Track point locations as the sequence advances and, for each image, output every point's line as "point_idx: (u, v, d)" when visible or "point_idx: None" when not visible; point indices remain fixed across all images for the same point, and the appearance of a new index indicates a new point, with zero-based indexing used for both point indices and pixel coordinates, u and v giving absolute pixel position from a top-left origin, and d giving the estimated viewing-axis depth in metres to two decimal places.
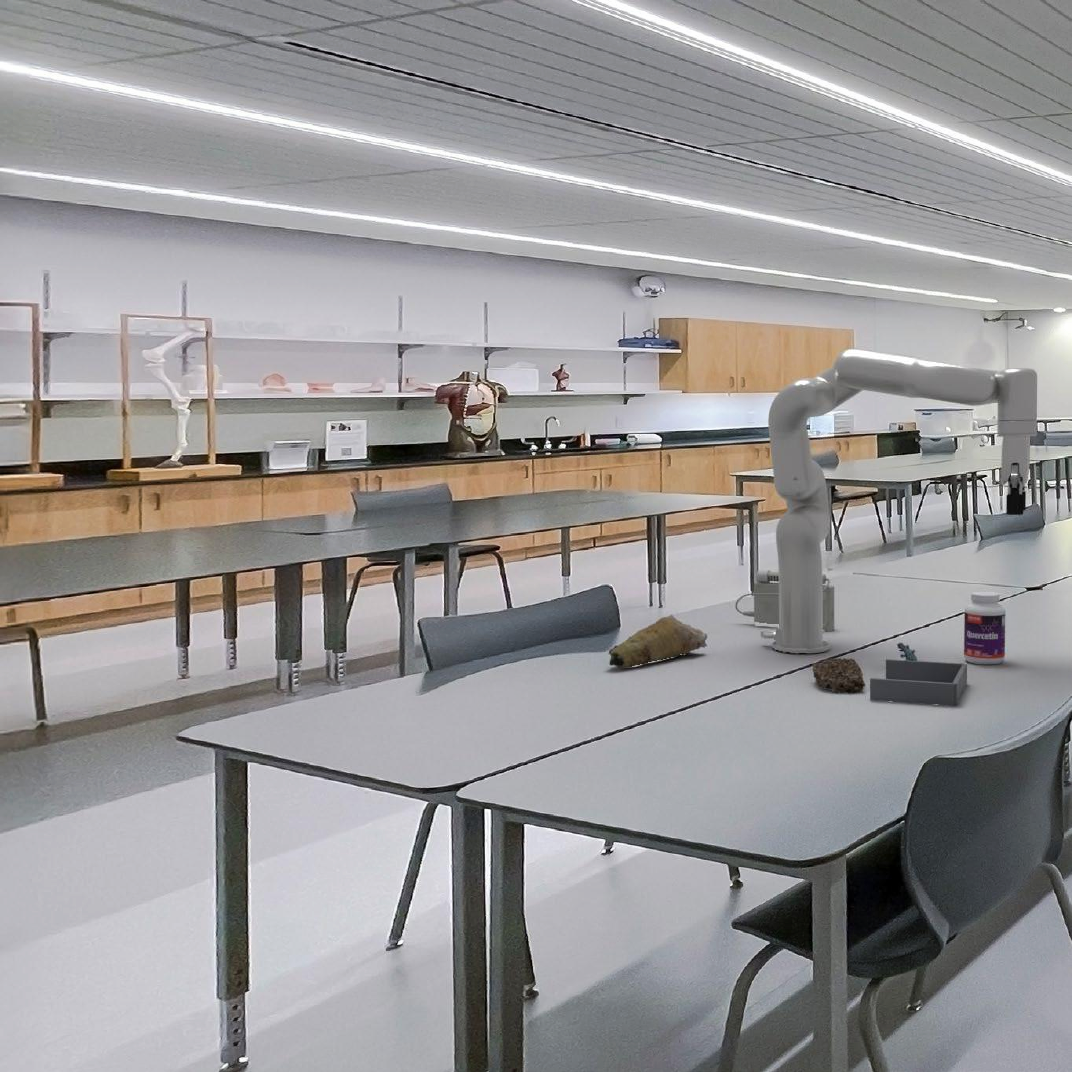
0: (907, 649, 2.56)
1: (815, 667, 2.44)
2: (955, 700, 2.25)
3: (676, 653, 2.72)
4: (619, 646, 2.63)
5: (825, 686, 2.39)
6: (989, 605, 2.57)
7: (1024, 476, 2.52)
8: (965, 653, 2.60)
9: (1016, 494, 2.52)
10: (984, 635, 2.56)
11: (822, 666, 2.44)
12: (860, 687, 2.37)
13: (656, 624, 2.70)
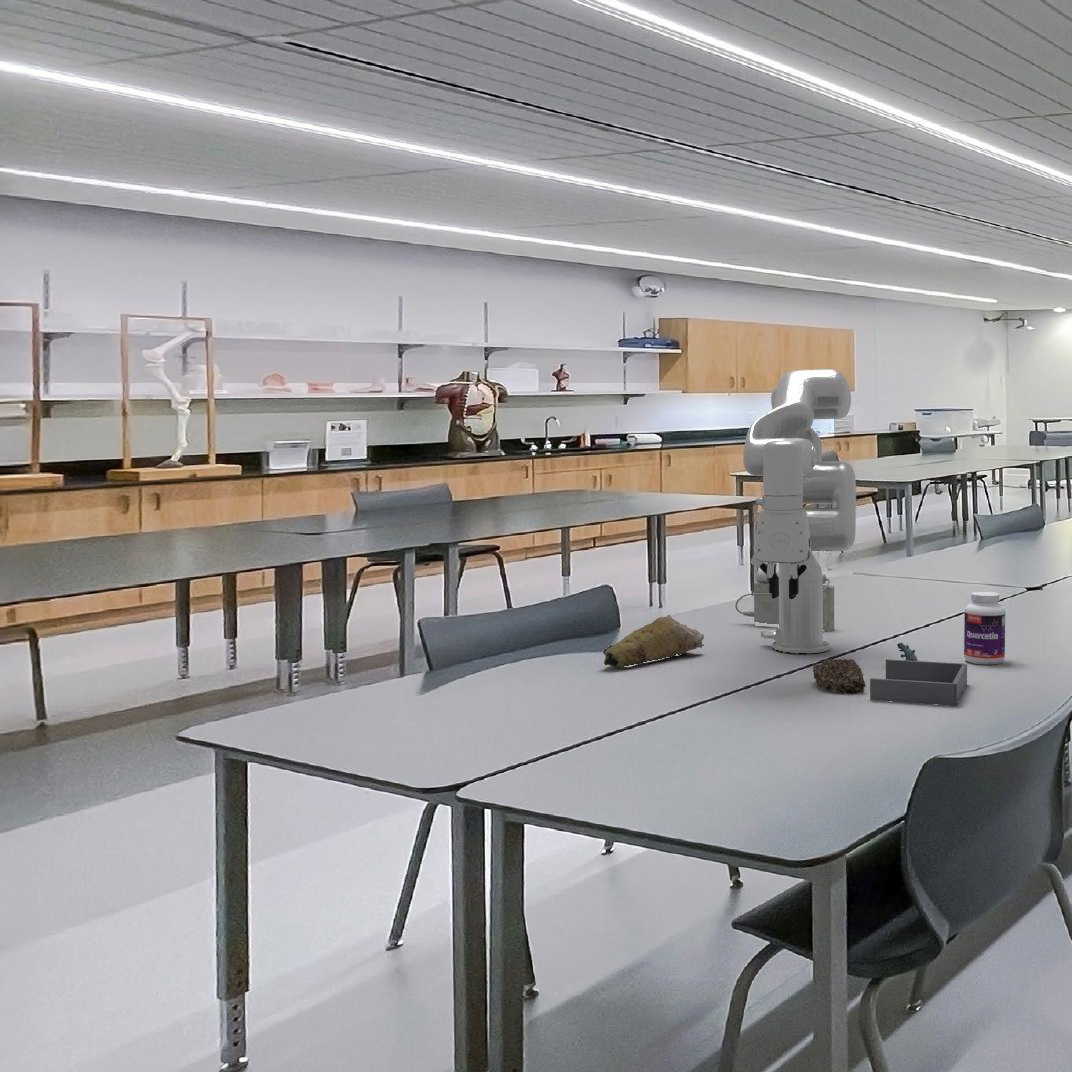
0: (907, 649, 2.56)
1: (815, 668, 2.44)
2: (955, 700, 2.25)
3: (672, 653, 2.72)
4: (614, 646, 2.63)
5: (826, 687, 2.38)
6: (989, 605, 2.57)
7: None
8: (965, 653, 2.60)
9: (799, 576, 2.44)
10: (984, 635, 2.56)
11: (822, 667, 2.44)
12: (861, 688, 2.36)
13: (652, 624, 2.71)
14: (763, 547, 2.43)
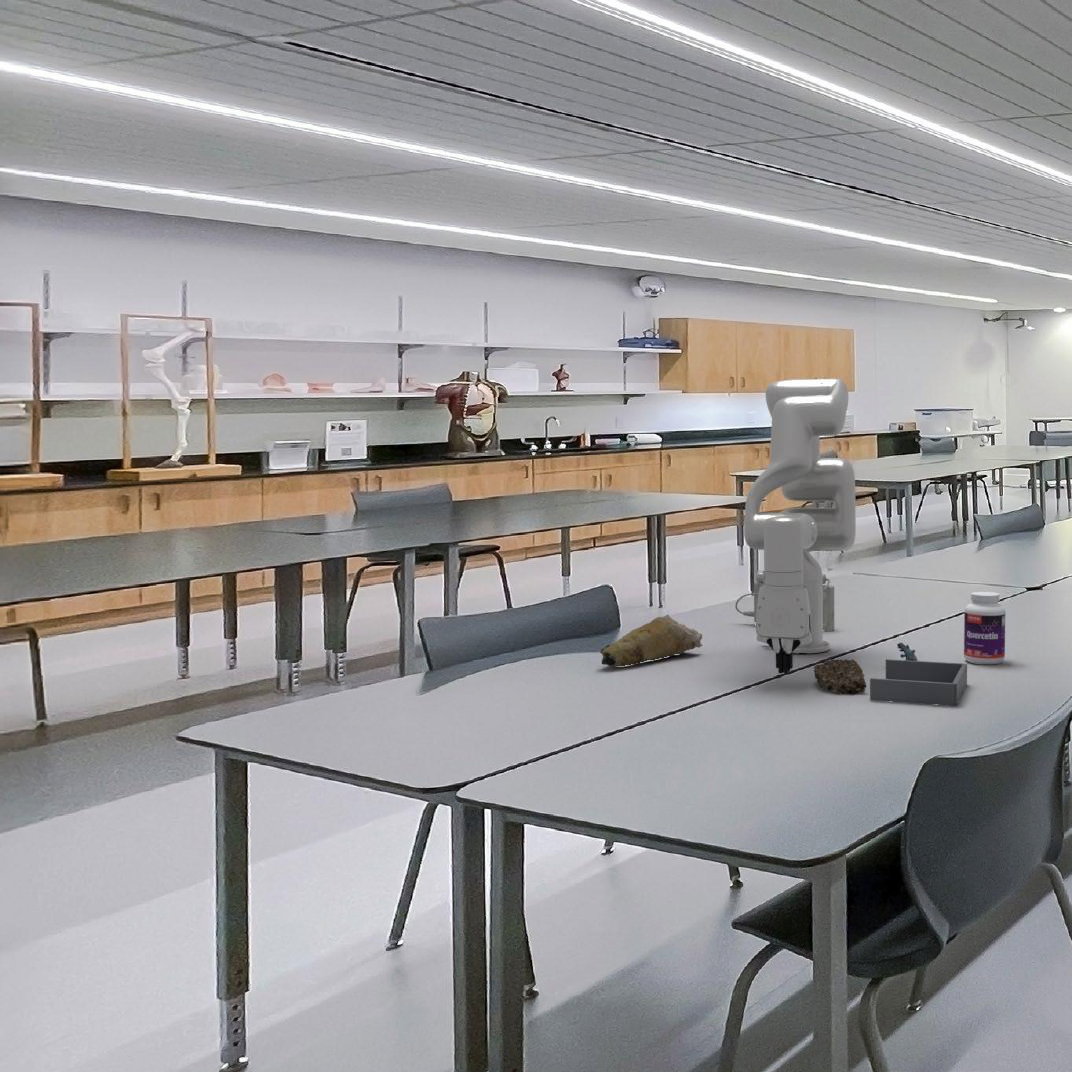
0: (907, 649, 2.56)
1: (816, 668, 2.43)
2: (955, 700, 2.25)
3: (670, 653, 2.72)
4: (611, 645, 2.64)
5: (827, 687, 2.38)
6: (989, 605, 2.57)
7: None
8: (965, 653, 2.60)
9: (793, 651, 2.45)
10: (984, 635, 2.56)
11: (823, 667, 2.43)
12: (862, 688, 2.36)
13: (650, 624, 2.71)
14: (764, 622, 2.44)
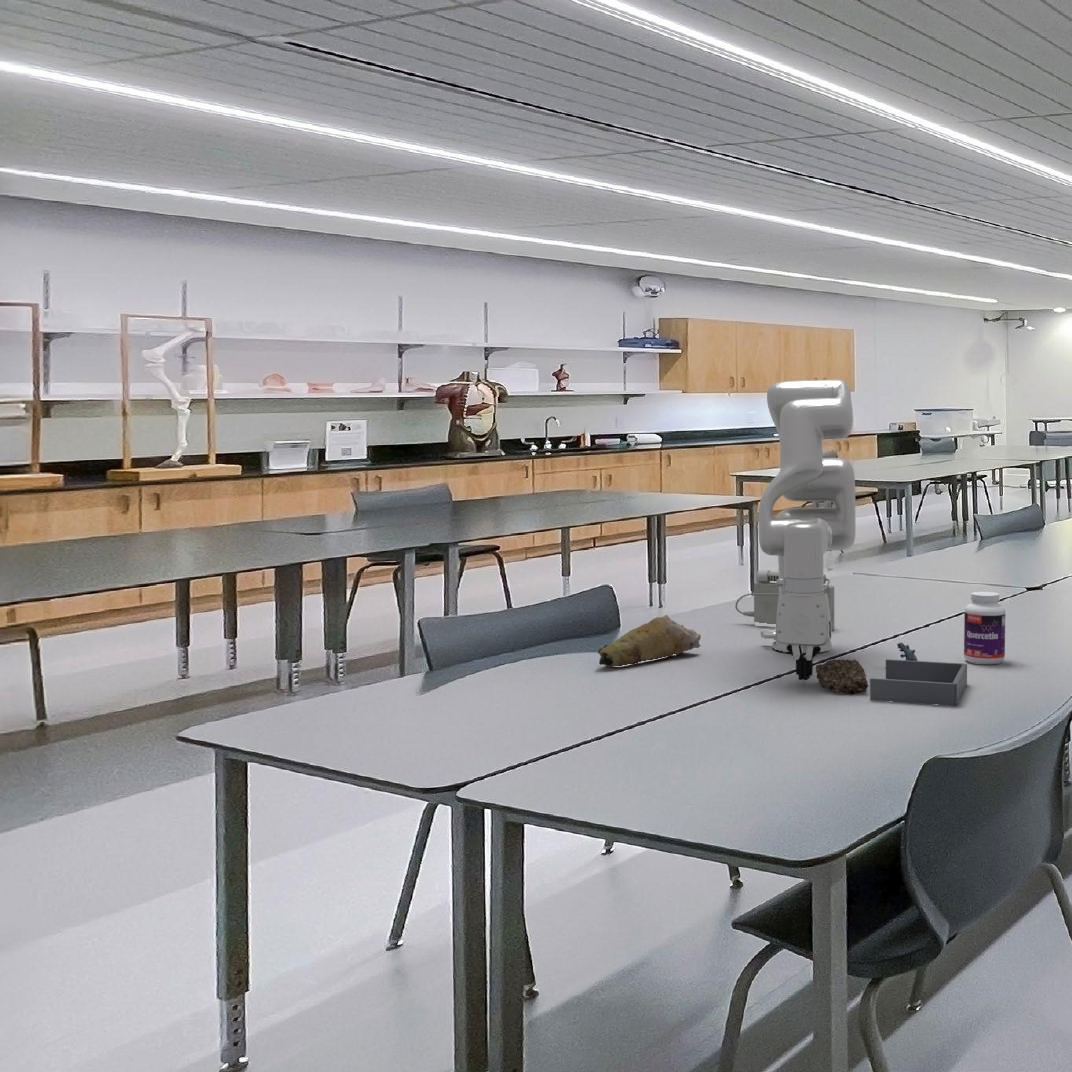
0: (907, 649, 2.56)
1: (818, 668, 2.43)
2: (955, 700, 2.25)
3: (668, 653, 2.72)
4: (608, 646, 2.64)
5: (828, 687, 2.37)
6: (989, 605, 2.57)
7: None
8: (965, 653, 2.60)
9: None
10: (984, 635, 2.56)
11: (825, 667, 2.43)
12: (864, 688, 2.35)
13: (648, 624, 2.71)
14: (784, 629, 2.43)
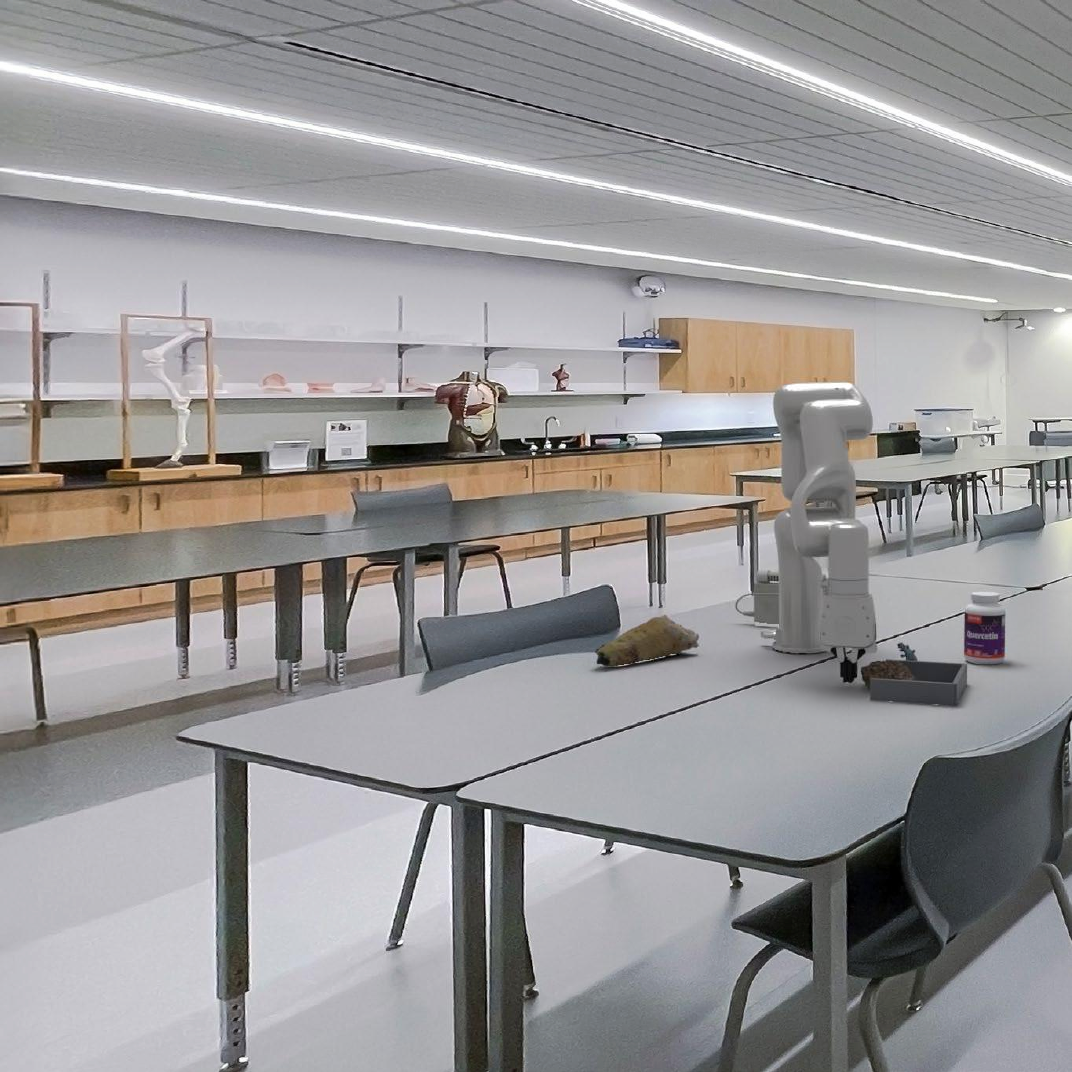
0: (907, 649, 2.56)
1: (864, 670, 2.39)
2: (955, 700, 2.25)
3: (666, 653, 2.72)
4: (606, 645, 2.64)
5: None
6: (989, 605, 2.57)
7: None
8: (965, 653, 2.60)
9: (857, 660, 2.41)
10: (984, 635, 2.56)
11: (871, 669, 2.39)
12: None
13: (645, 624, 2.71)
14: (828, 631, 2.39)
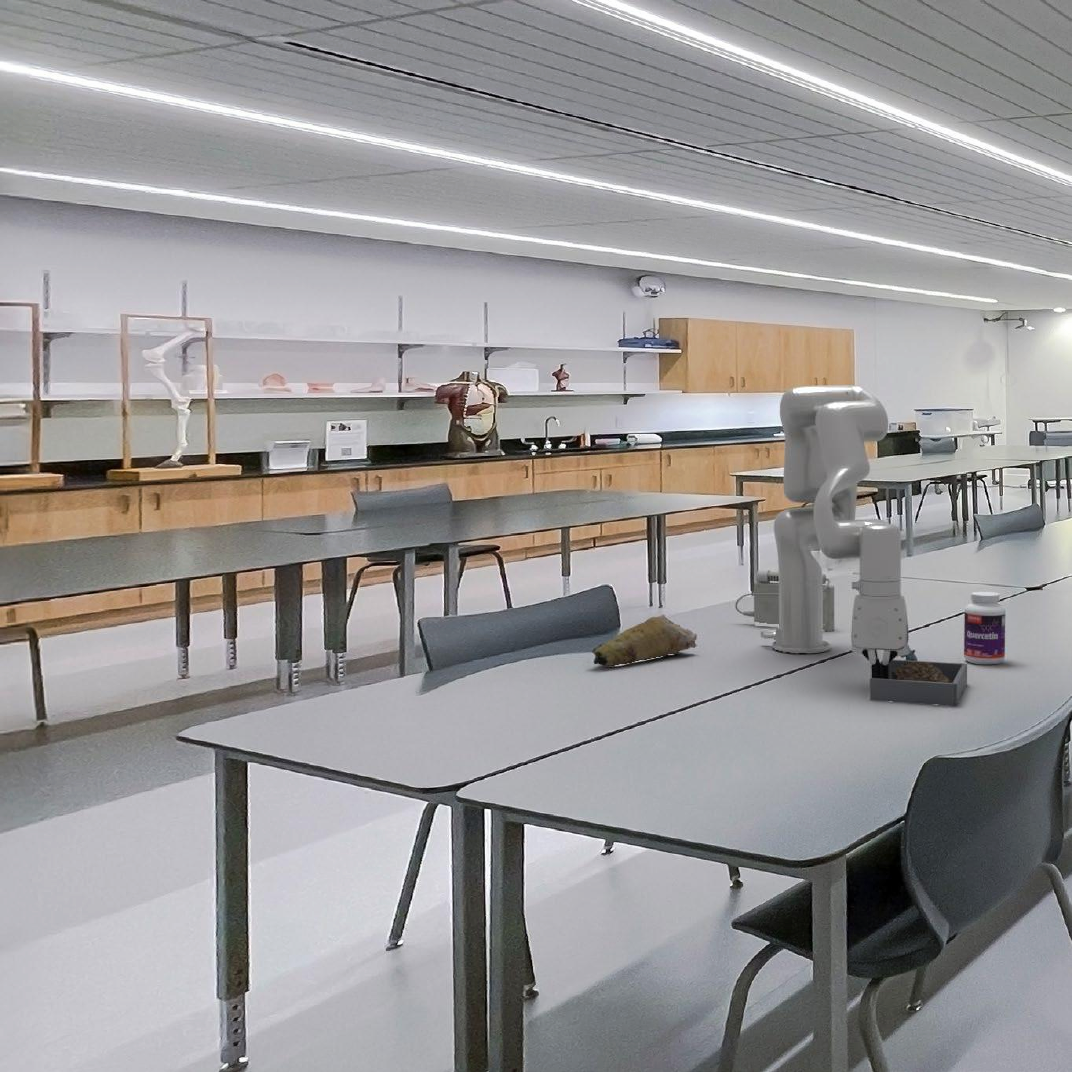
0: None
1: (897, 673, 2.37)
2: (955, 700, 2.25)
3: (663, 653, 2.72)
4: (603, 645, 2.64)
5: None
6: (989, 605, 2.57)
7: None
8: (965, 653, 2.60)
9: None
10: (984, 635, 2.56)
11: (903, 671, 2.37)
12: None
13: (643, 624, 2.71)
14: (860, 633, 2.37)
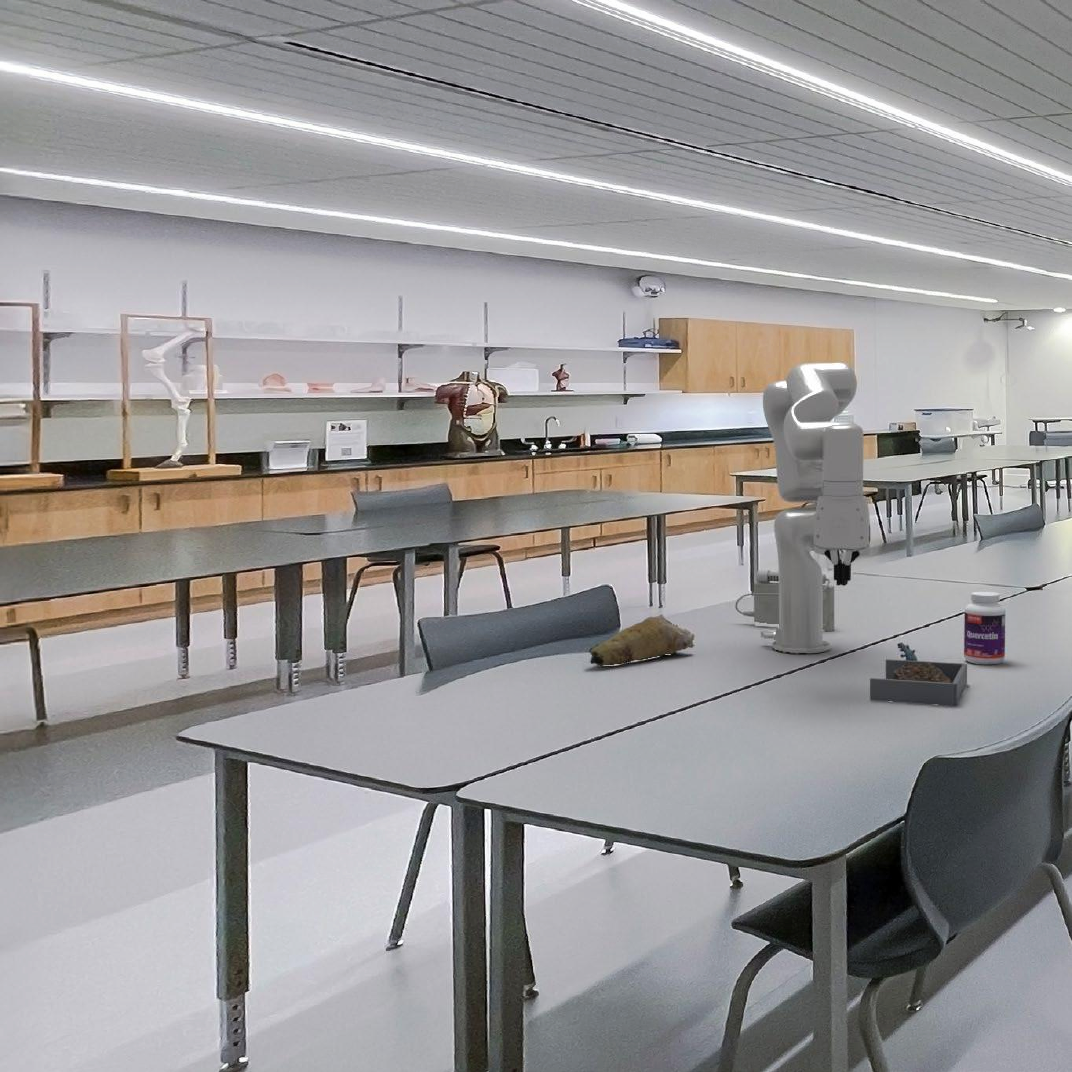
0: (907, 649, 2.56)
1: (898, 673, 2.36)
2: (955, 700, 2.25)
3: (661, 653, 2.72)
4: (599, 645, 2.65)
5: None
6: (989, 605, 2.57)
7: None
8: (965, 653, 2.60)
9: None
10: (984, 635, 2.56)
11: (905, 672, 2.37)
12: None
13: (640, 624, 2.71)
14: (822, 533, 2.38)
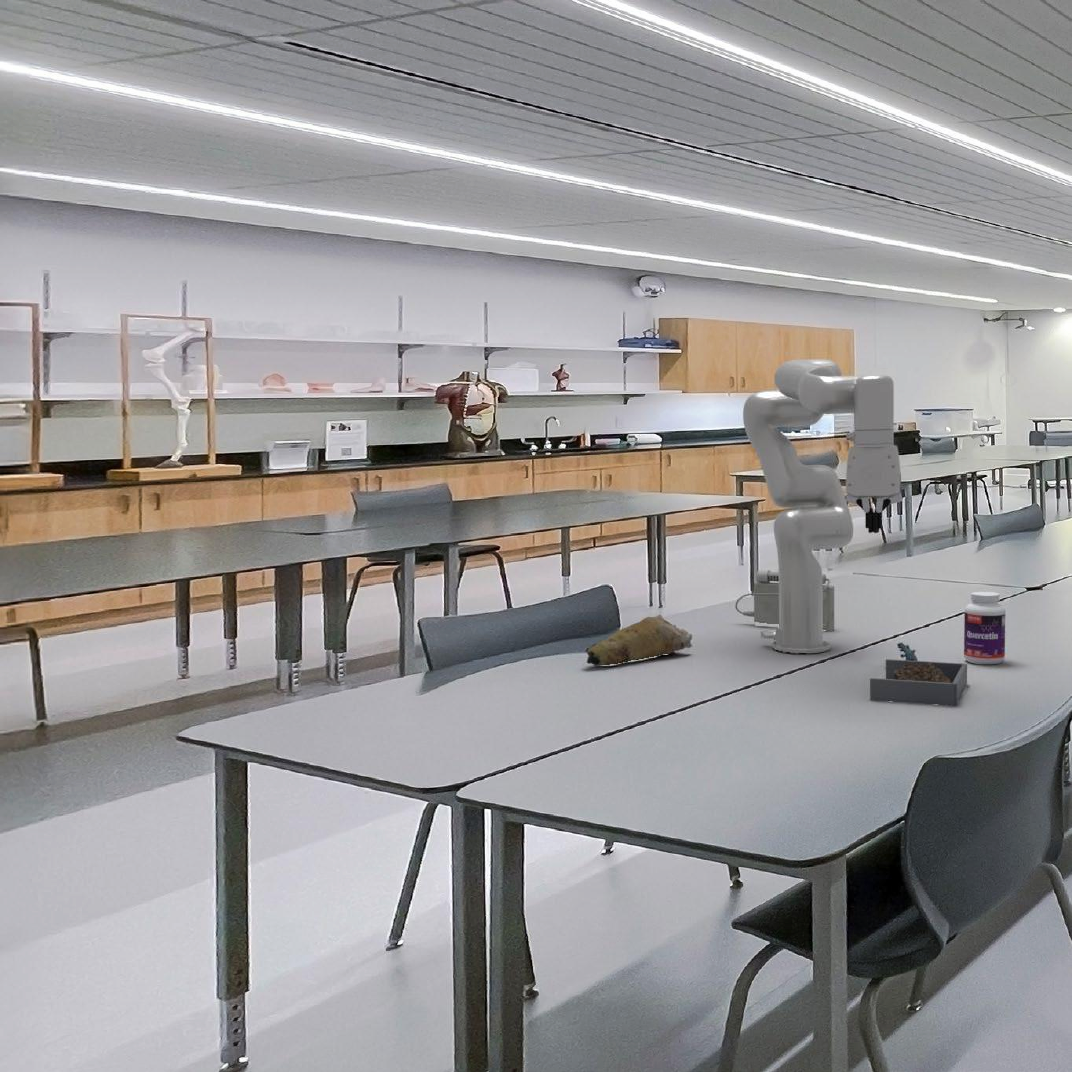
0: (907, 649, 2.56)
1: (898, 674, 2.36)
2: (955, 700, 2.25)
3: (658, 653, 2.73)
4: (596, 645, 2.65)
5: None
6: (989, 605, 2.57)
7: None
8: (965, 653, 2.60)
9: None
10: (984, 635, 2.56)
11: (905, 672, 2.37)
12: None
13: (637, 624, 2.72)
14: (854, 482, 2.45)
